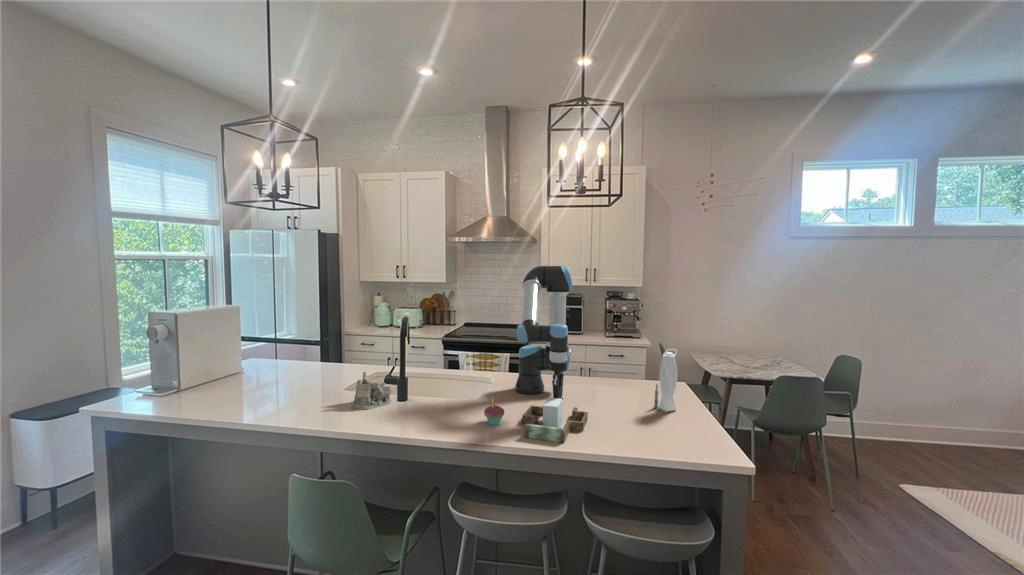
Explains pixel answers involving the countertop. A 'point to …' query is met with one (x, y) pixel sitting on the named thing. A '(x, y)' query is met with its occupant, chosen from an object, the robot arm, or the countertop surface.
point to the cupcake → (494, 414)
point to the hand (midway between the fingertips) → (557, 415)
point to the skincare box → (552, 412)
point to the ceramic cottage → (370, 394)
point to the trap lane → (551, 432)
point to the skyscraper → (667, 382)
